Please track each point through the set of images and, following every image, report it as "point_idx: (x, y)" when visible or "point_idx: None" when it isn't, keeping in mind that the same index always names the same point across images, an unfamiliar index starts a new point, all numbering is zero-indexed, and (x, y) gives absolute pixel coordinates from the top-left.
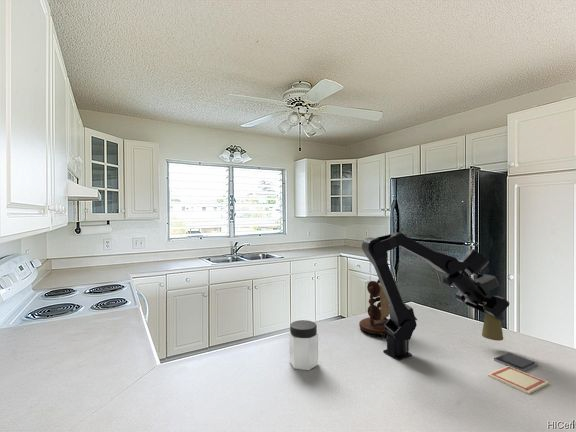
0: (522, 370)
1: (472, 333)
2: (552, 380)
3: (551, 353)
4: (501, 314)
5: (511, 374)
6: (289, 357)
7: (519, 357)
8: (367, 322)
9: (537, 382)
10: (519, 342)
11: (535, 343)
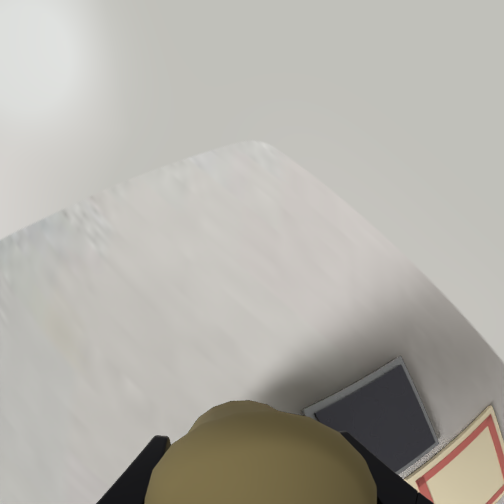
0: (435, 443)
1: (50, 383)
2: (474, 380)
3: (296, 219)
4: (390, 475)
5: (453, 493)
6: None
7: (365, 400)
8: None
9: (494, 440)
10: (181, 252)
11: (203, 200)
